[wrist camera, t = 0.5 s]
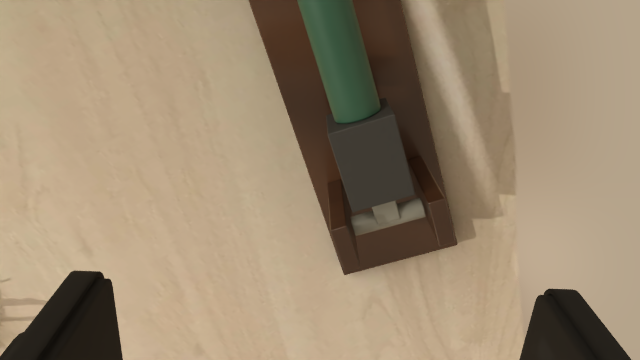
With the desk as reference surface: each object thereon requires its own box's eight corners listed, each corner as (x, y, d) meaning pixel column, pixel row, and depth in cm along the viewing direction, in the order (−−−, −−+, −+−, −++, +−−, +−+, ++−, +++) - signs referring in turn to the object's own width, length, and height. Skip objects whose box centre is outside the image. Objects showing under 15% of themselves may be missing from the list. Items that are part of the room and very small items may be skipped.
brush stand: (217, -99, 23) (184, -120, 18) (361, -152, 23) (379, -192, 17) (343, 266, 31) (350, 337, 26) (453, 236, 31) (487, 302, 25)
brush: (255, -82, 21) (247, -88, 18) (338, -111, 21) (341, -122, 18) (353, 220, 27) (358, 250, 24) (419, 202, 26) (431, 230, 24)
